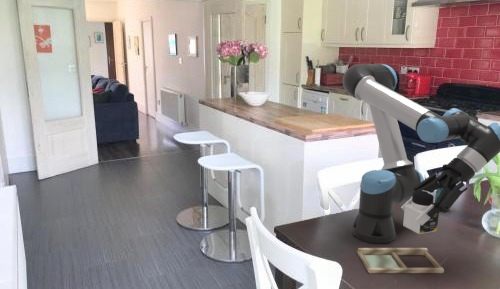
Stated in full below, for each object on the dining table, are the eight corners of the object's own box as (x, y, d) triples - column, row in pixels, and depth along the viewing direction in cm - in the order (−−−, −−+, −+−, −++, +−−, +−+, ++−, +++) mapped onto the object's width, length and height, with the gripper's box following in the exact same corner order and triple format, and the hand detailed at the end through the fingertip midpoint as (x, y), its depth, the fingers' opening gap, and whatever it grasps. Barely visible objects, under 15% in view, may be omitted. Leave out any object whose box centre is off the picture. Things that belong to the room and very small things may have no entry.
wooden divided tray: (368, 273, 121) (369, 267, 120) (357, 253, 133) (357, 247, 132) (443, 272, 121) (444, 267, 121) (425, 253, 133) (426, 247, 133)
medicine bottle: (419, 234, 120) (423, 197, 117) (402, 225, 127) (406, 189, 124) (437, 231, 123) (441, 194, 120) (419, 222, 129) (423, 187, 127)
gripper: (497, 184, 112) (437, 239, 114) (451, 163, 133) (401, 210, 134) (482, 167, 110) (422, 222, 112) (438, 148, 131) (387, 196, 133)
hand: (410, 216), depth 123 cm, fingers closed on medicine bottle, 8 cm apart
